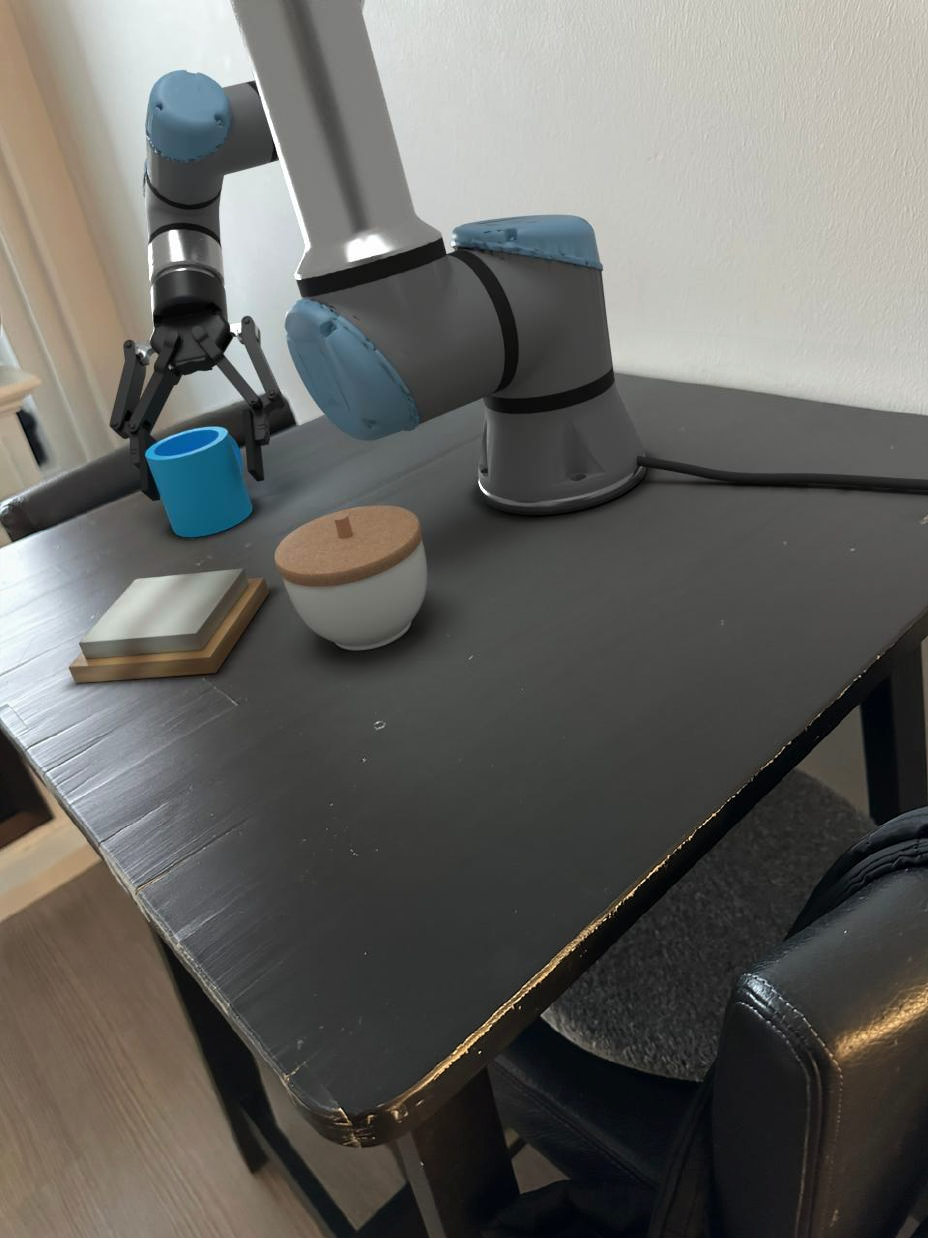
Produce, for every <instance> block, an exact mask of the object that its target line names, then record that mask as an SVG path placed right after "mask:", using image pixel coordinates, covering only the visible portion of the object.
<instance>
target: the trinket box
mask: <svg viewBox="0 0 928 1238" xmlns="http://www.w3.org/2000/svg"><path fill="white" fill-rule="evenodd" d="M425 551H426V550H425V546H424V541H423V530H422V525H421V522H420V520H419V518H418V516H417V515H416V514H415V513H413V512H412V511H411V510H408V509H407V508H404V507H401V506H396V505H386V504H379V505H378V504H373V505H372V504H371V505H362V506H356V507H351V508H345V509H342V510H338V511H335V512H331V513H328V514H325V515H322V516H319V517H317V518H315V519H313V520H311V521H308V522H307V523H304V524H302V525H300V526H299V527H298V528H296V529H294V530H293V531H292V532H291V533H289V534H288V535H286V536H285V537H284V538H283V539H282V540H281V541H280V543H279V545H278V546H277V547H276V550H275V552H274V558H273V559H274V563H275V567H276V570H277V573H278V574H279V575H280V577H281V579H282V582H283V586H284V588H285V590H286V593H287V596H288V598H289V601H290V603H291V604H292V606H293V608H294V610H295V611H296V613H297V614H298V616H299V617H300V619H301V620H302V622H304V624H305V625H306V626H307V627H308V628H309V629H310V630H311V631H313V632H314V633H315V634H316V635H318V636H319V637H321V638H323V639H325V640H328V641H329V642H332V643H334V644H335V645H336V646H338V647H339V648H341V649H344V650H347V651H368V650H373V649H378V648H380V647H384V646H386V645H388V644H390V643H393V642H394V641H396V640H399V638H401V637H402V636H404V635H405V634H406V633H407V632H408V630H409V629H410V628H411V626H412V622H413V620H414V618H415V617H416V615H417V614H418V612H419V611H420V609H421V607H422V605H423V603H424V600H425V597H426V591H427V587H428V564H427V558H426V557H427V556H426V552H425Z"/></svg>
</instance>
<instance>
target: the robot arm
mask: <svg viewBox="0 0 928 1238" xmlns="http://www.w3.org/2000/svg"><path fill="white" fill-rule="evenodd" d="M229 1H230V4H231V7H232V11H233V14H234V17H235V20H236V24H237V27H238V30H239V34H240V36H241V40H242V43H243V47H244V49H245V52H246V56H247V59H248V62H249V66H250V69H251V72H252V76H253V79H254V80H249V81H246V82H241V83H235V84H232V85H227V86H223V87H222V86H221V84H219V82H217V81H216V80H215V79H213V78H212V77H210V76H209V75H206V74H205V73H202V72H199V71H198V72H196V73H195V72H189V71H187V69H178V70H173V71H170V72H167V73H165V74H164V75H161V77H159V78H158V79H157V81H156V82H155V83H154V84H153V86H152V88H151V90H150V94H149V96H148V103H147V109H146V116H145V124H144V125H145V126H144V128H145V139H146V141H145V144H146V158H145V161H144V164H143V174H142V193H143V198H144V207H145V208H144V209H145V219H146V231H147V240H148V241H147V242H148V243H147V248H148V249H147V250H148V265H149V266H148V269H149V271H148V272H149V284H150V287H151V288H150V300H151V303H150V304H151V314H152V315H151V316H152V324H153V331H152V334H151V335H150V338H149V339H148V340H144V341H140V342H136V343H135V341H134V340H133V339H126V340H125V341H124V342H123V344H122V348H123V357H124V361H123V362H124V363H123V366H122V371H121V375H120V379H119V383H118V387H117V390H116V396H115V399H114V403H113V408H112V411H111V415H110V419H109V428H110V429H112V431H113V432H114V433H116V434H117V435H118V436H119V437H120V438H121V439H123V440H128V439H129V454H130V455H129V456H130V462H132V465H133V466H134V467H136V468H137V469H138V470H139V479H140V480H139V481H140V492H141V493H142V494H143V495H145V496H146V497H147V498H148V499H149V500H151V501H152V502H156V501H161V496H160V494H159V491H158V488H157V486H156V483H155V480H154V478H153V475H152V472H151V470H150V467H149V464H148V462H147V459H146V456H145V454H146V451H147V450H148V449H149V448H150V447H151V446H152V445H154V444H155V443H157V442H158V441H157V439H155V437H154V436H152V435H151V433H152V431H153V429H154V427H155V425H156V423H157V422H158V419H159V418H160V415H161V413H162V411H163V409H164V407H165V405H166V403H167V401H168V400H169V397H170V395H171V393H172V391H173V389H174V387H175V386H177V385H178V384H179V383H180V381H181V379H182V377H183V376H189V375H192V374H195V373H197V372H209V371H213V368H214V367H217V368H218V369H219V370H220V372H221V373H222V374H223V375H224V376H225V378H226V380H228V381H229V383H230V384H231V385H232V386H233V388H234V389H235V390H236V391H237V392H238V394H239V395H240V396H241V397H242V398H243V400H244V401H245V403H247V404H248V406H249V408H247V409H242V410H241V411H242V422H243V433H244V434H243V435H244V444H245V445H244V446H245V455H246V456H245V457H246V468H247V472H248V473H249V474H250V476H251V477H252V478H253V479H254V480H255V481H256V482H262V481H265V472H264V463H263V451H262V447H264V446H269V445H270V442H271V433H270V424H269V416H270V414H271V413H272V412H273V411H275V410H283V409H284V408H285V406H286V403H287V402H286V399H285V397H284V396H283V393H282V391H281V388H280V387H279V385H278V382H277V379H276V378H275V375H274V373H273V371H272V369H271V366H270V364H269V361H268V359H267V358H266V355H265V353H264V350H263V349H262V341H261V330H260V328H259V327H258V325H257V324H256V322H255V320H254V319H253V318H252V316H251V315H243V316H242V318H241V320H240V322H235V323H234V322H233V323H229V315H228V304H227V293H226V288H225V285H226V283H225V282H226V281H225V269H224V257H223V248H222V244H221V243H222V242H221V241H222V240H221V224H220V222H221V221H220V220H221V219H220V207H221V206H220V205H221V196H222V190H223V183H224V179H225V176H227V175H230V174H234V173H239V172H241V171H242V172H243V171H246V170H250V169H253V168H257V167H261V166H264V165H268V164H271V163H275V162H280V166H281V169H282V172H283V175H284V180H285V182H286V185H287V188H288V191H289V195H290V198H291V201H292V205H293V208H294V211H295V214H296V218H297V221H298V225H299V227H300V231H301V234H302V237H303V240H304V244H305V247H304V253H303V255H302V257H301V260H300V261H299V264H298V266H297V268H296V270H295V273H294V279H295V282H296V285H297V289H298V291H299V294H300V297H301V299H298V300H296V301H295V302H294V303H293V304H292V305H291V306H290V307H289V308H288V310H287V311H286V313H285V316H284V330H285V332H286V336H285V338H286V340H285V341H286V345H287V348H288V351H289V354H290V357H291V359H292V363H293V364H294V366H295V369H296V372H297V374H298V376H299V378H300V380H301V382H302V384H303V385H304V388H305V389H306V391H307V392H308V394H309V395H310V397H311V399H312V400H313V401H314V403H315V404H316V406H317V407H318V408H319V409H320V411H321V412H322V413H323V414H324V415H325V416H326V417H327V419H328V420H329V421H330V422H331V424H333V425H334V426H335V427H336V428H337V429H339V431H342V432H343V433H344V434H346V435H348V436H349V437H352V438H354V439H357V440H361V441H369V442H371V441H376V440H380V439H383V438H386V437H389V436H392V435H395V434H397V433H400V432H410V431H413V430H415V429H416V428H418V427H419V425H421V424H424V423H426V422H428V421H431V420H433V419H436V418H438V417H441V416H443V415H445V414H448V413H451V412H452V411H456V410H458V409H460V408H462V407H465V406H467V405H470V404H473V403H475V402H477V401H479V400H482V401H483V405H484V406H483V407H484V420H483V428H482V437H481V443H480V444H481V445H480V452H479V461H478V462H479V463H478V469H477V475H478V485H479V490H480V495H481V498H482V500H483V501H484V502H485V504H487V505H489V506H490V507H492V508H494V509H496V510H498V511H502V512H506V513H510V514H517V515H526V516H527V515H529V516H538V515H539V516H544V515H557V514H564V513H571V512H575V511H580V510H584V509H588V508H591V507H592V508H593V507H595V506H597V505H601V504H603V503H606V502H609V501H611V500H613V499H616V498H618V497H620V496H622V495H624V494H625V493H627V492H628V491H629V490H631V489H632V488H634V487H635V486H636V485H638V484H639V483H640V482H641V480H642V479H643V478H644V477H645V474H646V471H647V468H648V469H655V470H660V471H668V472H671V473H679V474H682V475H683V474H684V475H688V476H693V477H698V478H701V479H708V480H712V481H720V482H728V483H736V484H737V483H741V484H761V485H764V484H765V485H768V484H769V485H770V484H771V485H777V484H783V485H784V484H787V485H788V484H791V485H792V484H793V485H794V484H795V485H797V484H799V485H800V484H801V485H803V484H805V485H830V486H848V487H862V488H863V487H864V488H878V489H891V490H904V491H905V490H906V491H924V492H928V478H927V479H925V478H924V479H923V478H904V477H891V476H890V477H888V476H872V475H857V474H839V473H817V472H815V473H813V472H811V473H810V472H778V473H777V472H776V473H775V472H774V473H773V472H771V473H770V472H769V473H768V472H756V473H755V472H739V471H729V470H719V469H715V468H714V469H713V468H708V467H703V466H699V465H695V464H690V463H684V462H678V461H673V460H666V459H660V458H655V457H649V456H646V453H645V449H644V444H643V442H642V441H643V440H642V439H641V436H640V435H639V434H638V432H637V429H636V427H635V425H634V423H633V420H632V418H631V416H630V414H629V411H628V410H627V408H626V406H625V404H624V401H623V400H622V397H621V395H620V393H619V391H618V388H617V386H616V378H615V371H614V363H613V355H612V347H611V340H610V333H609V332H610V330H609V324H608V316H607V315H608V314H607V307H606V300H605V299H606V298H605V297H606V296H605V289H604V279H603V271H604V265H603V264H602V263H601V259H600V254H599V248H598V244H597V239H596V238H597V237H596V233H595V230H594V228H593V226H592V225H591V224H590V223H589V221H588V220H586V219H585V218H583V217H581V216H577V215H573V214H533V215H520V216H509V217H499V218H493V219H492V218H491V219H484V220H479V221H478V220H477V221H472V222H467V223H463V224H461V225H459V226H455V228H453V229H452V232H451V240H450V242H449V244H450V247H451V248H452V249H453V251H451V252H448V253H447V249H446V246H445V241H444V239H443V234H442V232H441V231H440V230H438V229H437V228H436V227H434V226H432V225H430V224H429V223H427V222H426V221H424V220H422V219H421V218H420V217H419V216H418V214H417V213H416V210H415V206H414V203H413V199H412V194H411V191H410V187H409V184H408V180H407V177H406V172H405V168H404V165H403V161H402V158H401V157H402V156H401V154H400V150H399V146H398V143H397V139H396V135H395V131H394V127H393V123H392V119H391V116H390V111H389V108H388V105H387V101H386V97H385V92H384V89H383V86H382V85H383V84H382V81H381V78H380V74H379V71H378V66H377V63H376V59H375V55H374V51H373V48H372V44H371V41H370V36H369V32H368V29H367V26H366V22H365V17H364V14H363V13H364V7H365V3H366V0H229ZM234 338H236V339H237V340H238V342H239V343H240V344H241V345H244V348H245V350H246V352H247V355H248V357H249V359H250V361H251V363H252V366H253V368H254V370H255V372H256V374H257V377H258V379H259V381H260V384H261V385H262V388H263V391H264V392H265V393H264V394H262V395H260V396H259V395H258V394H257V393H256V391H255V390H254V389H253V388H252V387H251V386H250V384H249V383H248V382H247V381H246V379H245V378H244V377H243V376H242V375H241V373H240V372H239V371H238V370H237V368H236V367H235V366H234V364H232V362H231V361H230V360H229V359H228V358H227V357H226V355H225V352H227V350H228V348H229V346H230V345H231V343H232V341H233V339H234ZM155 353H156V354H157V355H158V356H157V357H156V360H155V362H154V363H153V372H152V374H151V376H150V378H149V380H148V383H147V385H146V386H145V388H144V390H143V387H144V384H145V380H146V375H147V366H149V365H151V356H152V355H154V354H155ZM142 392H143V393H142Z"/></svg>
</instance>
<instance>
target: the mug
mask: <svg viewBox="0 0 928 1238" xmlns="http://www.w3.org/2000/svg"><path fill="white" fill-rule="evenodd" d="M145 456H146V459H147V462H148V464H149V467H150V470H151V472H152V475H153V478H154V480H155V483H156V486H157V488H158V491H159V494H160V500H161V501H162V504H163V507H164V509H165V512H166V515H167V517H168V521H169V523H170V526H171V528H172V531H173V532H174V533H175V535H176V536H179V537H183V538H199V537H206V536H209V535H214V534H217V533H220V532H223V531H226V530H228V529H230V528H233V527H235V526H237V525H238V524H240V523H242V522H243V521H245V519H247V518H248V517H249V516H250V515H251V513H252V512H253V504H252V500H251V497H250V494H249V492H248V489H247V486H246V482H245V479H244V476H243V472H244V471H243V457H242V451H241V450H240V447H239V445H238V443H237V441H236V440H235V439H234V438H233V437H232V435H230V434H229V430H227V428H225V427H222V426H203V427H198V428H192V429H188V430H184V431H181V432H178V433H174V434H172V435H170V436H168V437H165V438H163V439H161V440H159V441H157V443H155V444H154V445H152V446H151V447H150V448H149V449H148V450H147V451H146V454H145Z"/></svg>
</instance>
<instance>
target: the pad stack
mask: <svg viewBox="0 0 928 1238" xmlns="http://www.w3.org/2000/svg"><path fill="white" fill-rule="evenodd" d="M269 594H270V590H269V587H268V585H267V581H266V579H265V577H253V578H248V576H247V574H246V571H245V568H235V569H234V568H233V569H224V570H214V571H204V572H195V573H194V572H193V573H184V574H183V573H182V574H174V575H165V576H154V577H145V578H143V577H142V578H136V579H134V580H133V582H132V583H131V584H130V585H129V586H128V587H127V588H126V590H125V591H124V592H123V593H122V594H121V595H120V596H119V597H118V598H117V600H115V602H113V604H112V605H111V606H110V607H109V608H108V610H107V611H106V612H105V613H104V614H103V615H102V616H101V617H100V618H99V620H98V621H96V623H95V624H94V625H93V626H92V627H91V628H90V630H89V631H87V632H86V634H85V635H84V636H83V637H82V638H81V640H80V641H78V646H79V647H80V650H81V652H80V654H79V655H77V657H76V658H74V660H73V661H72V662H71V664H70V665H69V666H68V670H69V672H70V675H71V676H72V679H73V681H74V684H84V683H96V682H97V683H99V682H110V681H111V682H112V681H124V680H125V681H127V680H137V679H138V680H139V679H150V678H152V679H153V678H165V677H166V678H167V677H168V678H169V677H178V676H179V677H182V676H194V675H207V674H216V673H217V672H218V671H219V670H220V668H221V666H222V665H223V664H224V662H225V660H226V659H227V657H228V656H229V655H230V653H231V651H232V650H233V648H235V647H234V646H235V645H236V643H237V642H238V641H239V639H240V637H241V636H242V634H243V633H244V632H245V630H246V629H247V627H248V625H249V624H250V622H251V621H252V619H254V617H255V615H256V613H257V611H259V609H260V608H261V606H262V605H263V603H264V601H265V600H266V599H267V597H268V595H269Z"/></svg>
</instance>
